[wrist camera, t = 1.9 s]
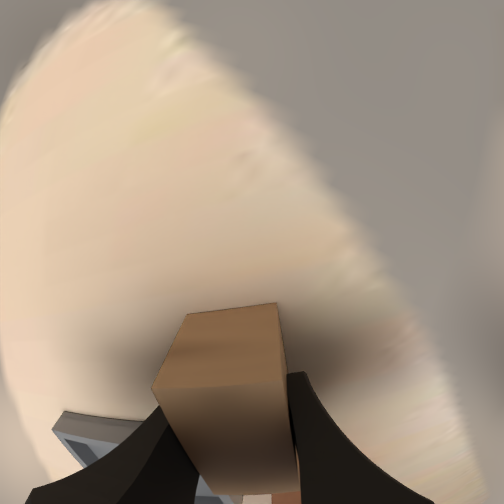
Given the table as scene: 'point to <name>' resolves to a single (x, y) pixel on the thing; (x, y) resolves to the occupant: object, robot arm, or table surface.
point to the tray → (107, 438)
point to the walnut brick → (232, 400)
